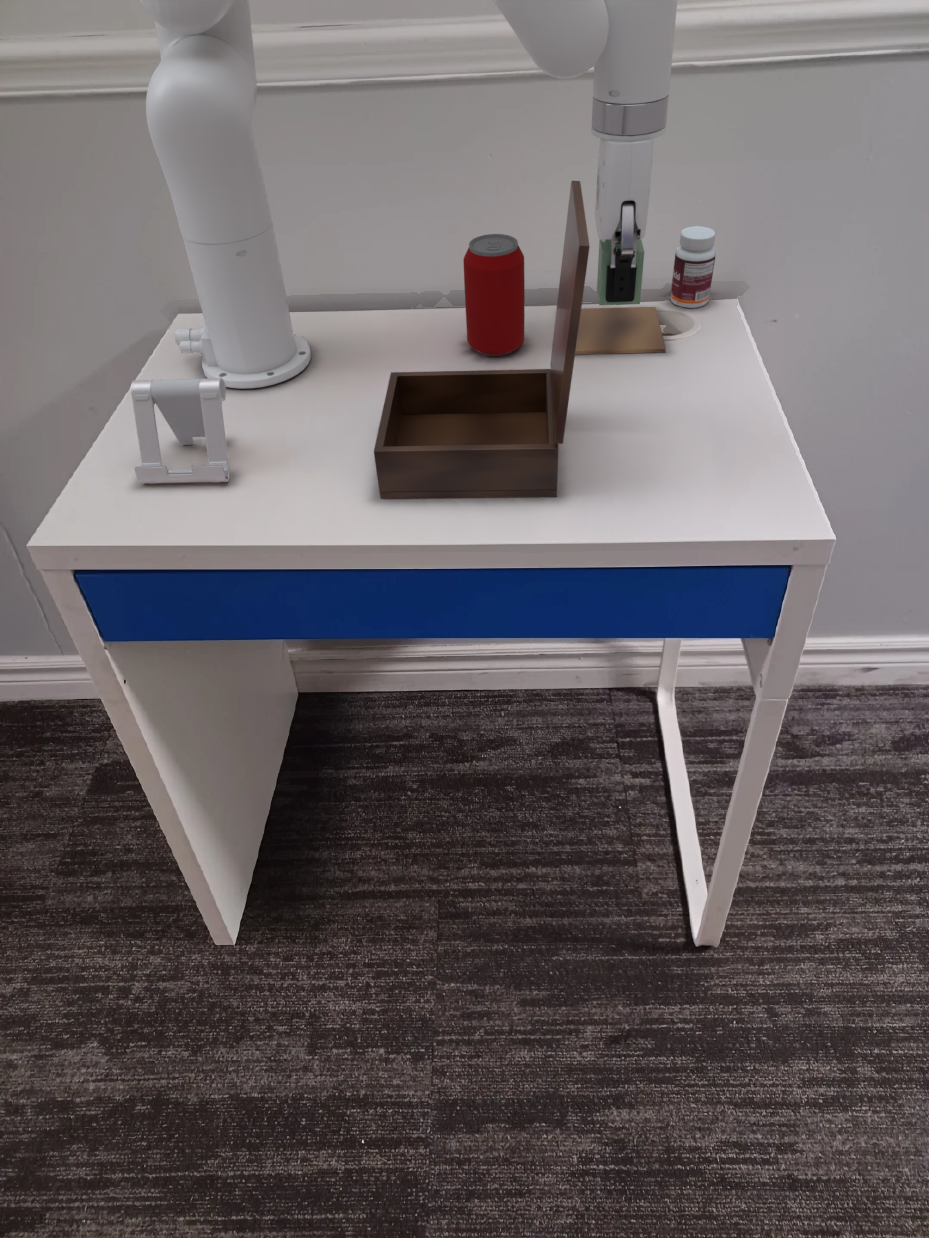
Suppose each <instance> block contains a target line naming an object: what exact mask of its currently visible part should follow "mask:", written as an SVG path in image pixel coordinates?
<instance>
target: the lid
mask: <svg viewBox="0 0 929 1238" xmlns="http://www.w3.org/2000/svg"><path fill="white" fill-rule="evenodd" d="M569 189H570V190H569V198H568V204H567V205H568V206H567V216H566V223H565V231H564V232H565V233H564V241H563V250H562V259H561V267H560V275H559V284H558V285H559V286H558V293H557V300H556V301H557V302H556V311H555V320H554V328H553V337H552V344H551V354H550V364H549V367H550V368H549V369H551V389H552V410H553V430H554V443H557V444H558V445H560V444H561V445H562V444H564V438H565V431H566V426H567V425H566V424H567V418H568V410H569V401H570V396H571V395H570V394H571V387H572V382H573V381H572V379H573V371H574V366H575V357H576V354H575V351H576V344H577V336H578V329H579V321H580V314H581V309H582V305H583V299H584V292H585V284H586V277H587V270H588V269H587V268H588V261H589V254H590V248H591V247H590V240H589V233H588V225H587V218H586V211H585V205H584V198H583V191H582V183H581V181H580V180H571V182H570V188H569Z"/></svg>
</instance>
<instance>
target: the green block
mask: <svg viewBox="0 0 929 1238" xmlns="http://www.w3.org/2000/svg"><path fill="white" fill-rule="evenodd" d="M619 237H621V236H619ZM598 239H599V238H598ZM610 240H611V239H606V240H605V242H602V241H601V240H600V239H599V240H598V241H599V242H598V259H597V281H596V291H597V299H598V304H599V306H625V305H627V306H631V305H641V297H642V287H643V286H642V285H643V273H644V261H645V247H644V245H643V240H642V239H641V240H638V238H637V252H636V264H637V271H636V284H635V297H634V300H633V301H631V302H607V301H606V279H607V265H610V248H611V241H610ZM620 246H621V244H616V252H617V249H620Z"/></svg>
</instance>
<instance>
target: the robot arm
mask: <svg viewBox="0 0 929 1238" xmlns="http://www.w3.org/2000/svg"><path fill="white" fill-rule="evenodd" d="M138 1H139V3H140V5H141V6H142V8H143V10H145V12H146V14H148V15H149V17H150V18H151V19H152V20H153V21H154V25H155V31H156V32H155V33H156V39H157V44H158V50H159V54H160V56H159V57H160V62H159V63H158V64H157V66H156V68H155V70H153V73H152V76H151V78H150V79H149V83H148V86H147V91H146V97H145V117H146V123H147V128H148V133H149V136H150V138H151V143H152V146H153V149H154V152H155V155H156V157H157V160H158V163H159V165H160V168H161V171H162V173H163V176H164V179H165V182H166V186H167V187H168V192H169V194H170V198H171V201H172V205H173V209H174V212H175V217H176V219H177V224H178V227H179V231H180V235H181V236H182V240H183V244H184V248H185V252H186V255H187V259H188V264H189V267H190V272H191V275H192V278H193V282H194V286H195V290H196V294H197V297H198V301H199V305H200V309H201V313H202V316H203V321H204V325H202V326H201V327H200V328H176V329H175V331H174V340H175V344H176V345H177V346H178V347H179V350H180V353H181V354H195V353H196V354H198V353H199V354H200V355H202V356H203V357H202V359H201V366H202V367H201V368H202V371H203V373H204V376H205V377H206V378H222V379H223V380H224V382H225V385H226V388H230V389H242V390H243V389H257V388H265V387H270V386H274V385H277V384H280V383H282V382H285V381H288V380H290V379H292V378H293V377H296V376H298V375H299V374H300V373H301V372H302V371H304V370H305V369H306V367H307V366H308V365H309V364H310V361H311V358H312V351H311V348H310V344H309V343H308V341H307V340H306V339H305V338H303V337H301V336H300V335H298V334H296V333H294V329H293V328H294V327H293V324H292V319H291V313H290V307H289V303H288V297H287V292H286V287H285V286H286V285H285V281H284V276H283V271H282V266H281V261H280V255H279V250H278V244H277V240H276V235H275V229H274V225H273V221H272V216H271V211H270V204H269V199H268V197H267V190H266V186H265V181H264V177H263V174H262V173H263V172H262V168H261V164H260V160H259V156H258V152H257V148H256V142H255V137H254V131H253V129H254V128H253V118H254V111H255V108H256V104H257V97H258V94H257V93H258V86H257V85H258V84H257V72H256V61H255V54H254V51H255V50H254V42H253V30H252V21H251V20H252V19H251V10H250V1H249V0H138ZM492 1H493V2H494V4H495V5H496V7H497V9H498V10H499V11H500V13H501V14H502V15H503V18H504V19H505V21H506V22H507V23H508V25H509V27H511V29H512V31H513V32H514V34H515V35H516V37H517V39H518V40H519V42H520V43H521V45H522V46H523V48H524V50H525V52H527V54H528V56H529V57H530V58H531V60H532V61H533V63H534V64H535V66H536V67H537V68H538V69H539V70H541V71H542V72H543V73H544V74H546V75H548V76H550V77H552V78H556V79H560V80H563V79H565V80H569V79H573V78H578V77H580V76H581V75H583V74H585V73H587V72H588V71H589V70H591V69H592V68H593V81H592V82H593V83H592V106H591V107H592V108H591V109H592V110H591V131H590V132H591V134H592V135H593V136H594V137H596V138H598V139H599V147H598V159H597V174H596V191H595V203H594V220H595V227H596V233H597V237H598V239H600V240H601V241H602V242H605V240H606V239H611V240H610V241H611V248H610V265H607V279H606V301H607V302H631V301H633V300H634V297H635V284H636V271H637V264H636V252H637V238H638V240H642V239H644V237H645V235H646V229H647V223H648V214H649V213H648V212H649V205H650V204H649V203H650V191H651V183H652V182H651V180H652V167H653V156H654V155H653V154H654V142H655V141H654V140H655V139H656V138H658V137H659V138H660V136H662V135H664V133H666V130H667V129H666V128H667V117H668V108H669V96H670V88H671V87H670V86H671V75H672V65H673V55H674V53H673V52H674V44H675V43H674V41H675V31H676V19H677V9H678V0H492ZM619 236H621V237H619ZM616 244H621V246H620V249H617V252H616Z"/></svg>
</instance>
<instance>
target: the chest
mask: <svg viewBox="0 0 929 1238" xmlns="http://www.w3.org/2000/svg"><path fill="white" fill-rule="evenodd" d="M374 443H375V444H374V447H373V455H374V456H373V457H374V463H375V470H376V471H375V472H376V477H377V485H378V486H377V487H378V492H379V498H380V500H394V499H395V500H396V499H397V500H398V499H402V500H403V499H404V500H405V499H408V500H409V499H467V498H468V499H476V498H477V499H481V498H483V499H484V498H486V499H487V498H488V499H491V498H556V497H557V496H558V475H559V474H558V473H559V444H557V443H554V430H553V410H552V389H551V369H550V368H532V369H531V368H529V369H528V368H527V369H525V368H524V369H523V368H522V369H483V370H482V369H481V370H477V369H476V370H444V371H443V370H442V371H441V370H439V371H437V370H434V371H431V370H430V371H393V372H392V371H391V372H390V374H389V379H388V384H387V387H386V393H385V398H384V403H383V407H382V411H381V416H380V421H379V426H378V431H377V434H376V439H375V442H374Z"/></svg>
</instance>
